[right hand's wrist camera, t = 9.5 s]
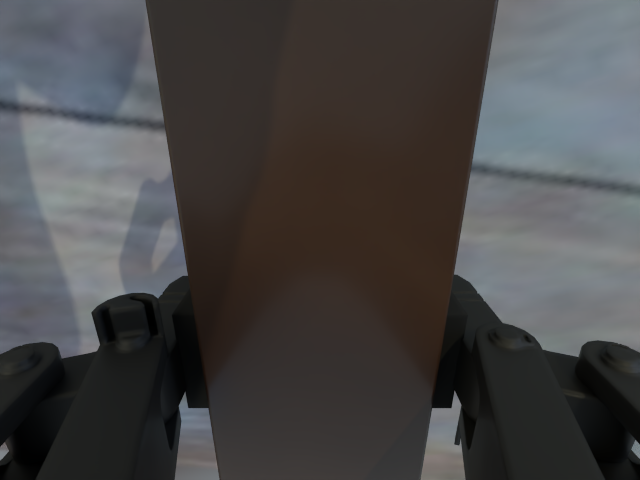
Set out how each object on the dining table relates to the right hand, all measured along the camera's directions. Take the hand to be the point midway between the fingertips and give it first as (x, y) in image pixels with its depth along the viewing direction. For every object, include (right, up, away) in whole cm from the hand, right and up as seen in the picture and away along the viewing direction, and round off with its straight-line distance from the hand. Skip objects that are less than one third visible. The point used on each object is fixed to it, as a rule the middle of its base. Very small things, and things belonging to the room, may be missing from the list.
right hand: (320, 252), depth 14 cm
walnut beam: (0, +11, -3) cm, 11 cm away
